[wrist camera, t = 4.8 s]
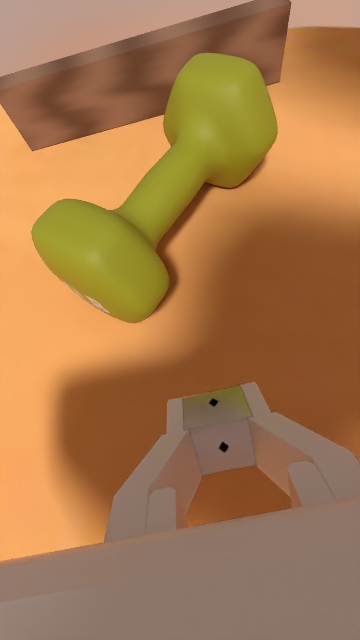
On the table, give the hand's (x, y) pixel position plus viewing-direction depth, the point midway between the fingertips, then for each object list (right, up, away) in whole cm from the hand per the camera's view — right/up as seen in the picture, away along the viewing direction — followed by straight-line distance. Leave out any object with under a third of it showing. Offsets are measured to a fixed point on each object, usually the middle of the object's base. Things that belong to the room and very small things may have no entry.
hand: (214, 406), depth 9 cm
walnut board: (-4, +23, +17) cm, 29 cm away
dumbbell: (-1, +9, +11) cm, 15 cm away
